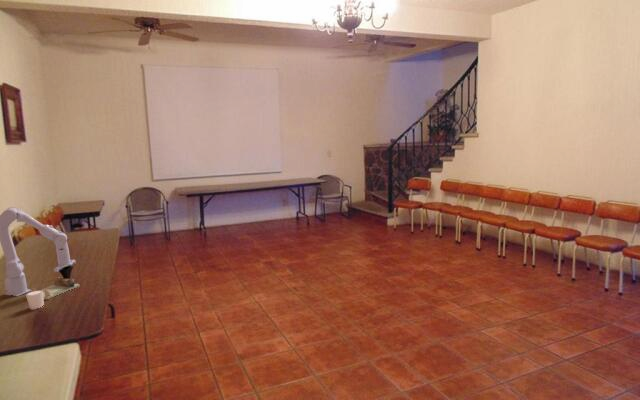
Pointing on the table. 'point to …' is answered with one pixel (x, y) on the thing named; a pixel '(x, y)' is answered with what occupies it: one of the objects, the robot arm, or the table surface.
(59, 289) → the seat
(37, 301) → the shot glass
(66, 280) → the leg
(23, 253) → the table surface
